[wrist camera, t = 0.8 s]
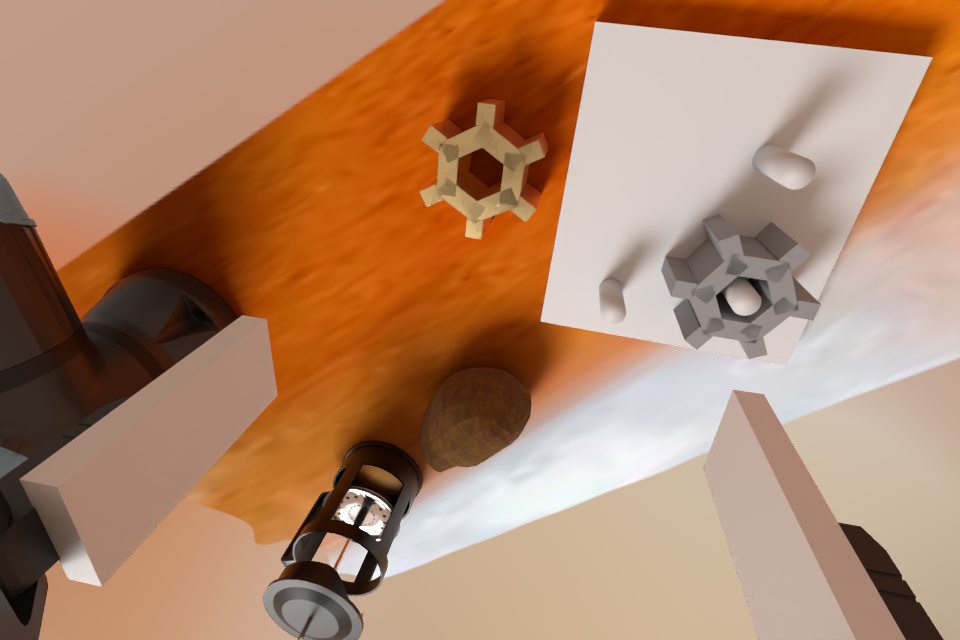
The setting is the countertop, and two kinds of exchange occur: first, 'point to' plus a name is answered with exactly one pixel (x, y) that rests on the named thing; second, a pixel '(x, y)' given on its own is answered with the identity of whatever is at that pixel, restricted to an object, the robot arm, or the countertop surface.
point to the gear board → (717, 184)
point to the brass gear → (466, 187)
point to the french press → (358, 517)
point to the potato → (473, 417)
